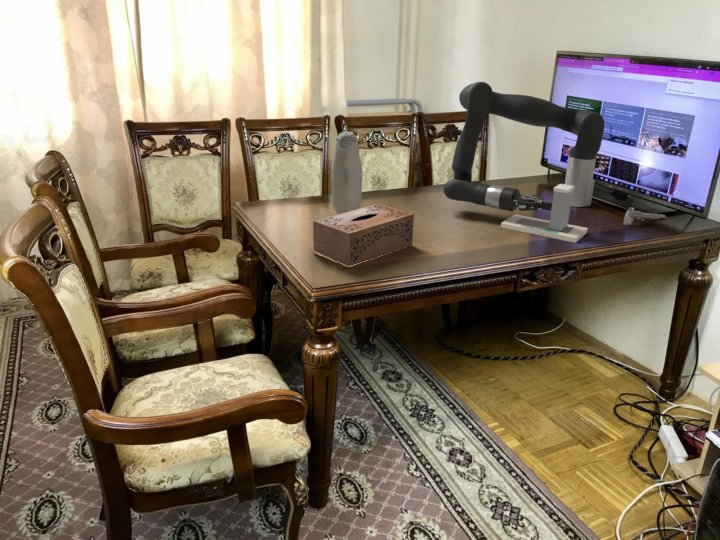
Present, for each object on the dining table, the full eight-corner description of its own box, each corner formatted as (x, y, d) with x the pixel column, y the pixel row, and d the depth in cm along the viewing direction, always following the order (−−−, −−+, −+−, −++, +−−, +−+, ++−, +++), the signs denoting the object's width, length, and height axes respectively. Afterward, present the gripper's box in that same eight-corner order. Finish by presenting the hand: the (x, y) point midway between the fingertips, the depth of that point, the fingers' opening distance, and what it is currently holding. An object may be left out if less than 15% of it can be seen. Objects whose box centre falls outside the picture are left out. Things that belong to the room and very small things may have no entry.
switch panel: (500, 227, 189) (501, 222, 188) (514, 218, 198) (515, 213, 198) (575, 242, 176) (576, 237, 176) (587, 232, 185) (587, 227, 185)
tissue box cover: (377, 234, 182) (377, 203, 178) (412, 246, 172) (413, 214, 169) (313, 254, 165) (313, 220, 161) (348, 269, 156) (349, 233, 152)
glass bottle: (329, 211, 203) (328, 129, 192) (357, 209, 205) (358, 128, 195) (334, 219, 194) (334, 134, 183) (364, 218, 196) (365, 133, 186)
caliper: (625, 226, 192) (629, 208, 190) (622, 225, 193) (626, 207, 191) (667, 219, 201) (671, 201, 198) (664, 218, 202) (668, 200, 199)
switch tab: (547, 228, 183) (553, 187, 178) (554, 223, 188) (560, 183, 183) (561, 231, 181) (568, 190, 176) (568, 226, 185) (574, 185, 180)
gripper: (495, 191, 186) (549, 200, 176) (511, 182, 196) (563, 191, 186) (492, 213, 189) (545, 223, 179) (508, 204, 199) (559, 213, 189)
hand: (554, 207), depth 183 cm, fingers closed
